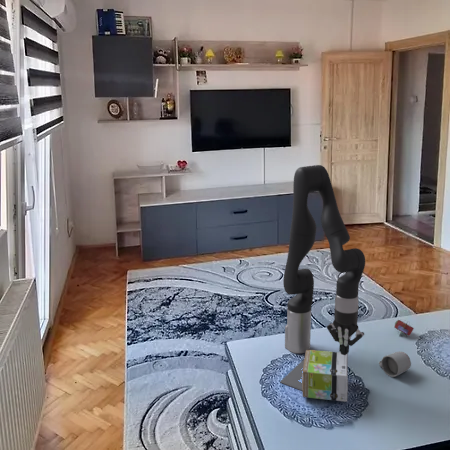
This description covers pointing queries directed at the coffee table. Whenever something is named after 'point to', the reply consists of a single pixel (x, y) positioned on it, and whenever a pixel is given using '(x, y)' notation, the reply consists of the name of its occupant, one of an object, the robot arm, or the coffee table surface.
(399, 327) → the geometric puzzle
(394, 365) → the ceramic mug
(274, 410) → the coffee table surface
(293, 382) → the mat
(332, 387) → the tea box
